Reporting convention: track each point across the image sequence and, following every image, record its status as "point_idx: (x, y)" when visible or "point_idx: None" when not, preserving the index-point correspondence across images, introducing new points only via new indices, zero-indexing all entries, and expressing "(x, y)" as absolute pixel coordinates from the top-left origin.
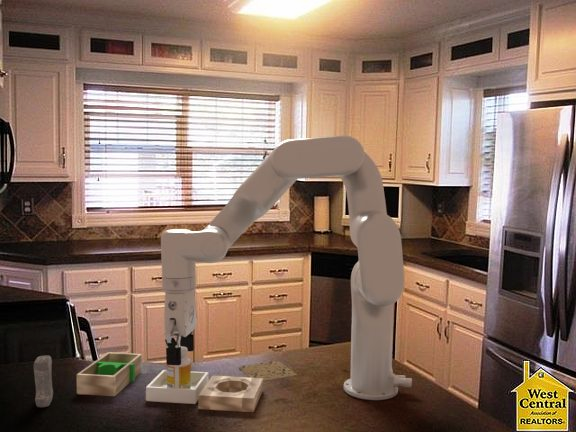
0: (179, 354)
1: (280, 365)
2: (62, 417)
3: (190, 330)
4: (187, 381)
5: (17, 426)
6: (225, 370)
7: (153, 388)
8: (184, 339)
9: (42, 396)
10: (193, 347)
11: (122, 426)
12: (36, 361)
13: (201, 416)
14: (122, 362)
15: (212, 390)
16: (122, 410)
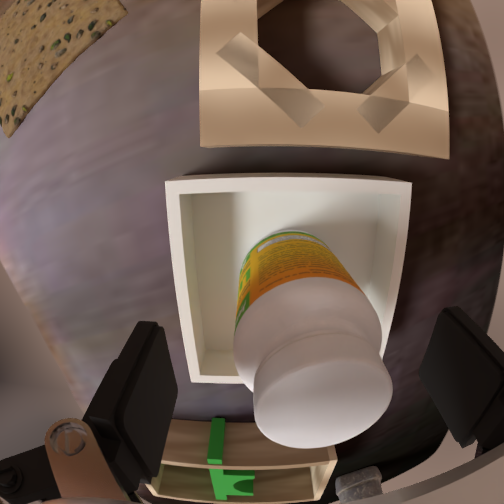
0: (490, 346)
1: (4, 21)
2: (423, 429)
3: (497, 491)
4: (321, 247)
5: (436, 448)
6: (33, 168)
7: (382, 349)
8: (153, 435)
9: (380, 482)
10: (141, 333)
11: (487, 322)
12: None
13: (461, 138)
14: None
15: (401, 104)
16: (416, 365)
